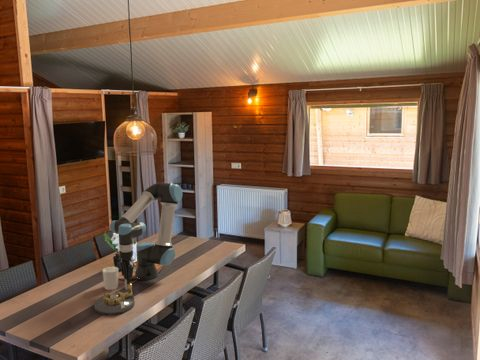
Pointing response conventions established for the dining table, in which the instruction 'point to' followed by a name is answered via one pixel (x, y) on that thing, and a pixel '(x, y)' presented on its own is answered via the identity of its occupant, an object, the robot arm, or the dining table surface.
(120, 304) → the bearing cap
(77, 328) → the dining table surface
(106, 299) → the brass lugged wrench
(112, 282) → the candle holder
